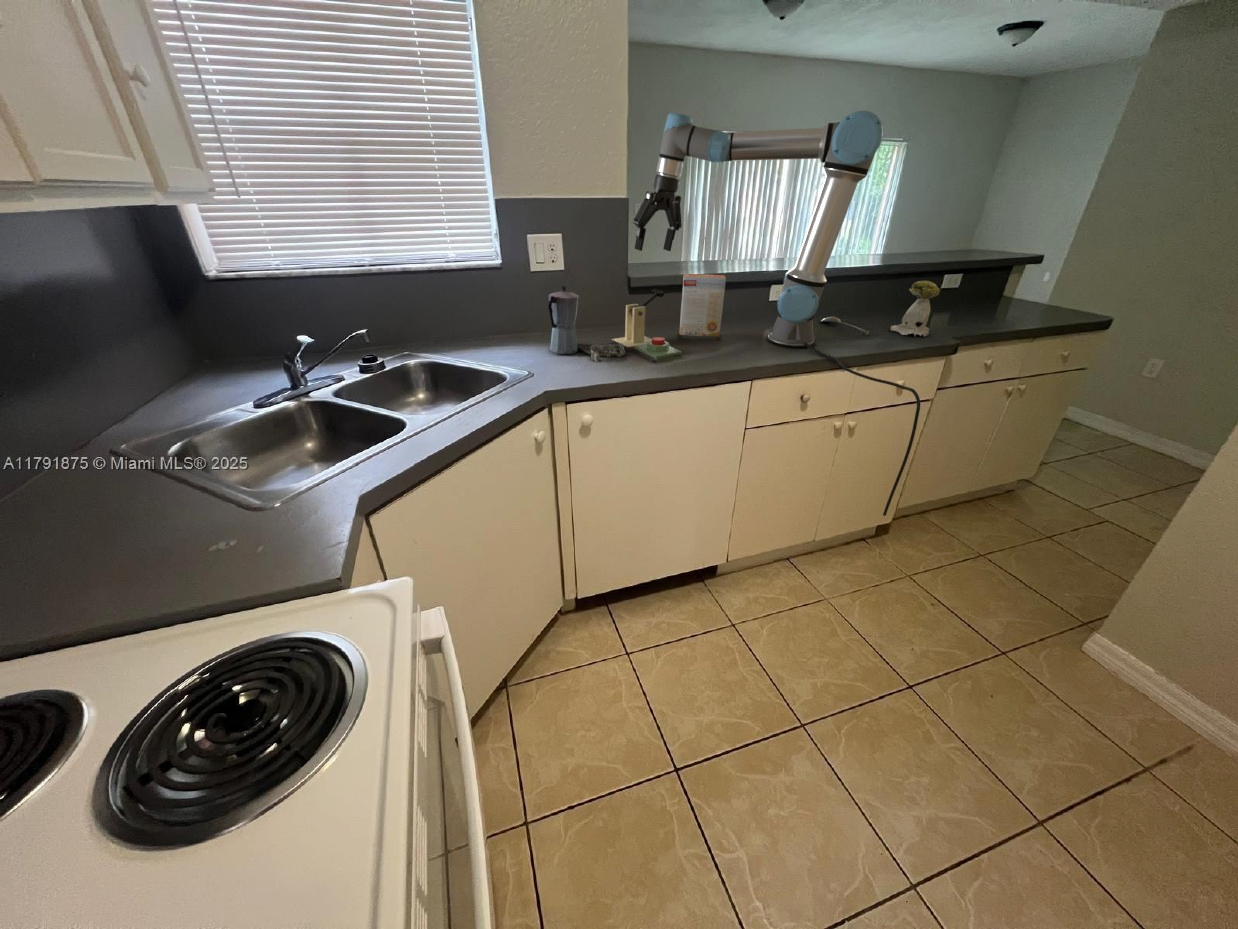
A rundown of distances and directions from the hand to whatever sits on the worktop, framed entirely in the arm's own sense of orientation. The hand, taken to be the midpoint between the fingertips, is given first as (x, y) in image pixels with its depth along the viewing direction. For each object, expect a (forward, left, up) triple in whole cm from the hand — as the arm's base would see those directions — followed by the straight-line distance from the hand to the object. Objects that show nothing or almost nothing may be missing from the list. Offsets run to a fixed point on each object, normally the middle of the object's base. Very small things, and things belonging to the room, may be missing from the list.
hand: (652, 249), depth 159 cm
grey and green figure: (-44, -90, -29) cm, 104 cm away
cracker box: (-10, -15, -29) cm, 34 cm away
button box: (-19, +10, -28) cm, 36 cm away
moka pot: (-1, +34, -29) cm, 45 cm away
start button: (-19, +10, -25) cm, 33 cm away
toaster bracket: (-6, +10, -28) cm, 31 cm away
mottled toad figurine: (-13, +25, -29) cm, 40 cm away
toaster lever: (-6, +6, -16) cm, 18 cm away
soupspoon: (-28, -73, -29) cm, 83 cm away
